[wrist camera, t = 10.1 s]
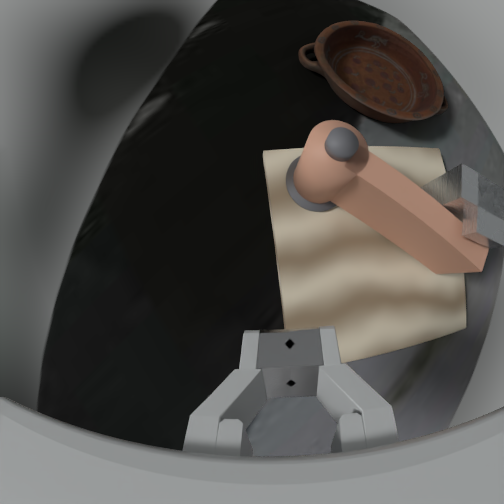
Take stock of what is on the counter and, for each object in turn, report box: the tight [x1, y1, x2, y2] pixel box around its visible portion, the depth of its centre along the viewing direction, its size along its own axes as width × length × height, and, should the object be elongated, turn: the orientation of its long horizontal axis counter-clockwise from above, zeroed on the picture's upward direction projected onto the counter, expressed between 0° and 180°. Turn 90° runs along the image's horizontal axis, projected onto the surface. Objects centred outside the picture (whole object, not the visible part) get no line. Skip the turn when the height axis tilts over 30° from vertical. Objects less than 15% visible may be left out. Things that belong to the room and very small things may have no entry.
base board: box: [263, 146, 466, 363], centre depth 30 cm, size 23×23×2 cm
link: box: [293, 120, 489, 274], centre depth 24 cm, size 20×5×9 cm, turn 59°
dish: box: [299, 21, 448, 123], centre depth 30 cm, size 18×22×5 cm
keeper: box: [420, 164, 504, 248], centre depth 24 cm, size 6×5×12 cm
